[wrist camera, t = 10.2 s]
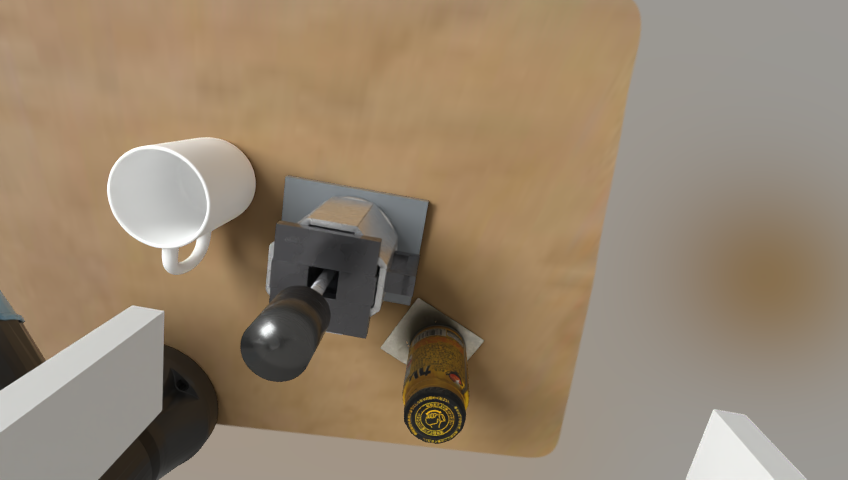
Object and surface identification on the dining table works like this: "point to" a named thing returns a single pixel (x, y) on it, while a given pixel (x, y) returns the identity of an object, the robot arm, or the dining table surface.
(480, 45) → the dining table surface
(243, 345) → the plunger
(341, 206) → the carafe
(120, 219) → the cup
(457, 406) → the condiment
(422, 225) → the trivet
